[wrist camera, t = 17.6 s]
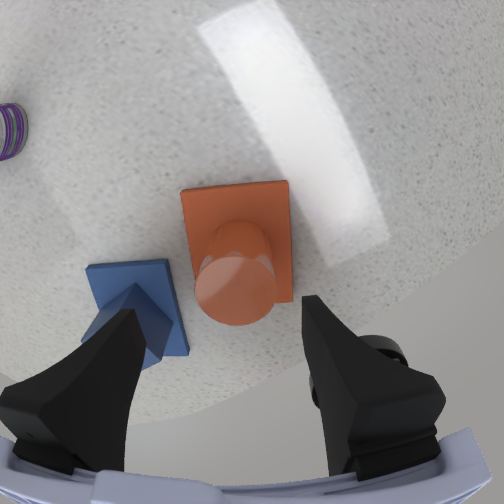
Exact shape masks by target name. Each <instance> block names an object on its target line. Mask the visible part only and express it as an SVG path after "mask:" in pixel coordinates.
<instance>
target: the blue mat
mask: <svg viewBox="0 0 504 504" xmlns="http://www.w3.org/2000/svg"><path fill="white" fill-rule="evenodd" d="M85 271H86V274H87V277H88V280H89V283H90V286H91V289H92V292H93V295H94V298H95V300H96V303H97V306H98V308H99V311H100V310H101V308H102V307H104V306H105V305H106V304H107V303H109V302H110V301H111V300H113V299H114V298H115V297H117V296H118V295H119V294H121V293H122V292H123V291H125V290H126V289H127V288H129V287H130V286H132V285H133V284H134V283H137V284H138V285H139V287H140V288H141V289H142V290H143V291H144V292H145V293H146V294H147V295H148V296H149V297H150V298H151V300H152V301H153V302H154V303H155V304H156V305H157V306H158V307H159V308H160V309H161V310H162V311H163V312H164V313H165V314H166V315H167V316H168V317H169V318H170V320H171V321H172V322H173V326H172V329H171V332H170V335H169V338H168V341H167V344H166V347H165V351H164V354H163V356H188V355H189V351H190V350H189V346H188V342H187V339H186V335H185V331H184V327H183V324H182V320H181V316H180V312H179V308H178V304H177V300H176V295H175V291H174V287H173V283H172V278H171V274H170V269H169V265H168V260H167V259H162V260H149V261H136V262H123V263H109V264H96V265H89V266H88V267H87V268H86V269H85Z"/></svg>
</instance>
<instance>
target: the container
mask: <svg viewBox="0 0 504 504" xmlns="http://www.w3.org/2000/svg"><path fill="white" fill-rule="evenodd" d="M27 132H28V123H27V118H26V115H25V112H24V110H23V109H22V108H21V107H20V106H19V105H17V104H14V103H11V104H0V161H3V160H6V159H9V158H12V157H14V156H16V155H17V154H18V153H19V152H20V151H21V150H22V148H23V146H24V144H25V141H26V138H27Z"/></svg>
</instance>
